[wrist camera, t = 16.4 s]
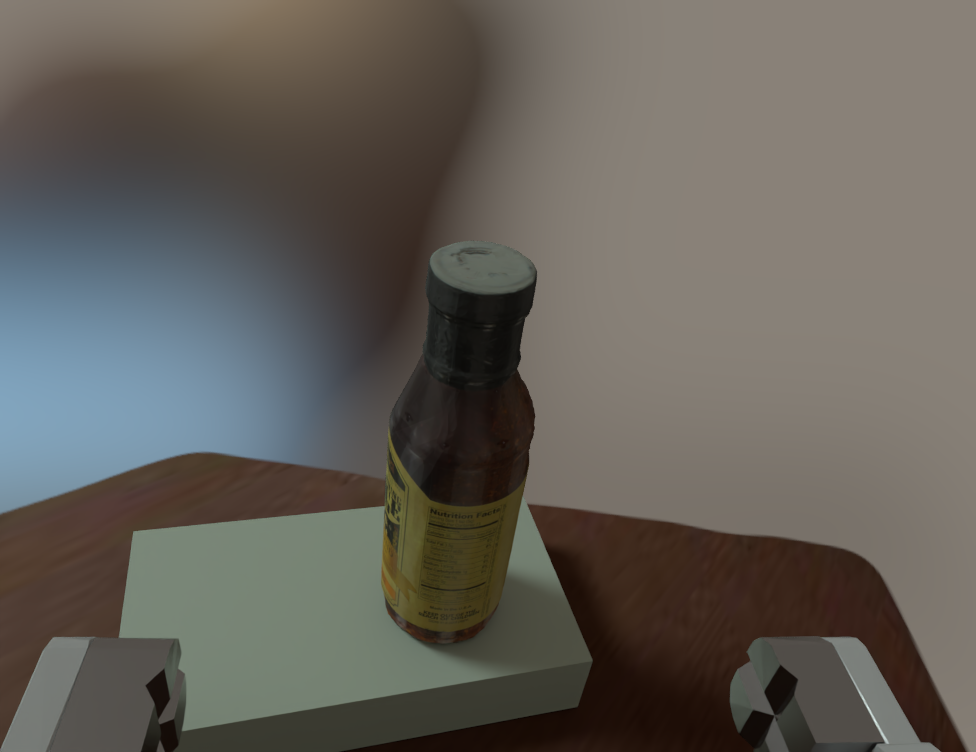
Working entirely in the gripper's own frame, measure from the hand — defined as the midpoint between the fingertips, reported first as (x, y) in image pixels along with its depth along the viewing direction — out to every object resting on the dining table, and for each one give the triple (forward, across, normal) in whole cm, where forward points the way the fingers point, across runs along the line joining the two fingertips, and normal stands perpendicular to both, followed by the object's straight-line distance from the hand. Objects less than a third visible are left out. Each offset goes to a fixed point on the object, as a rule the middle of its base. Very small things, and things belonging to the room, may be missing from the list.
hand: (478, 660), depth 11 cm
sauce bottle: (+19, -2, +23) cm, 30 cm away
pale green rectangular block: (+19, +2, +27) cm, 33 cm away
